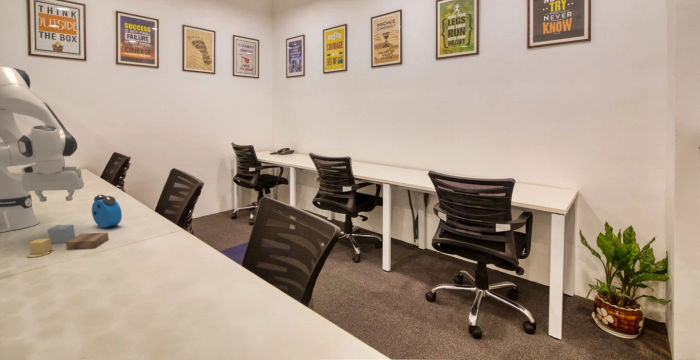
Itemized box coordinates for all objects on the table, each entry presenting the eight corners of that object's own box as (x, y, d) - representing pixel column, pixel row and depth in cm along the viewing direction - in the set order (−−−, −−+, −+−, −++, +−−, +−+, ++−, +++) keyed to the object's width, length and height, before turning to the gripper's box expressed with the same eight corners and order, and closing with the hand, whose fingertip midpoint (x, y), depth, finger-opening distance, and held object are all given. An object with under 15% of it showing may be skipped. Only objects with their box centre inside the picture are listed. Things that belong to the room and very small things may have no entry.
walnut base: (66, 249, 133) (65, 242, 133) (82, 240, 143) (81, 233, 142) (95, 248, 135) (94, 240, 134) (108, 239, 144) (107, 232, 144)
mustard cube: (30, 254, 129) (28, 243, 128) (39, 250, 133) (37, 238, 132) (44, 254, 129) (42, 242, 128) (52, 249, 134) (50, 238, 133)
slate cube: (49, 243, 139) (47, 229, 138) (59, 238, 145) (57, 225, 144) (65, 243, 140) (63, 228, 139) (75, 238, 146) (73, 224, 145)
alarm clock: (123, 226, 161) (119, 195, 158) (109, 230, 155) (105, 198, 152) (106, 223, 166) (102, 192, 163) (92, 226, 161) (88, 195, 158)
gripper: (84, 165, 142) (89, 198, 144) (28, 166, 139) (34, 199, 141) (75, 167, 136) (80, 201, 138) (16, 168, 133) (22, 203, 135)
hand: (56, 200), depth 140 cm, fingers open, 8 cm apart
